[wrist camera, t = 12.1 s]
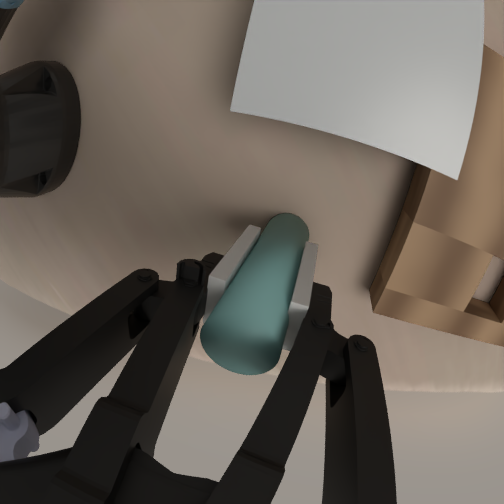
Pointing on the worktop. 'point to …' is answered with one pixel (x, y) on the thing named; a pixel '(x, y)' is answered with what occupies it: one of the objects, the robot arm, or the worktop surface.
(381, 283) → the board
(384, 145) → the grey square block
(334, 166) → the worktop surface
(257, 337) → the peg
